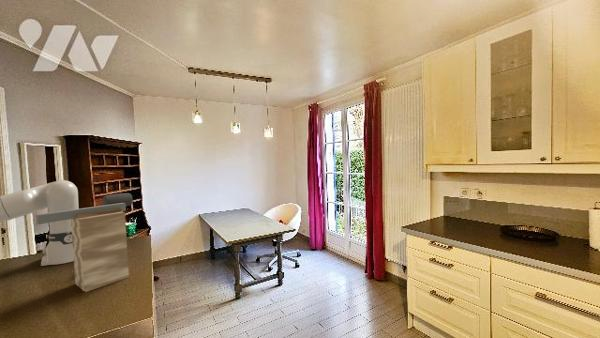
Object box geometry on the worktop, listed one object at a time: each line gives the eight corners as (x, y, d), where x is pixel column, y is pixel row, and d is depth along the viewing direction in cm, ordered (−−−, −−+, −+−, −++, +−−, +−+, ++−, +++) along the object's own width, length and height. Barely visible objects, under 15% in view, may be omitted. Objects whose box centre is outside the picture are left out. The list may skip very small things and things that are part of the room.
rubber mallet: (109, 253, 136) (105, 195, 135) (104, 251, 141) (101, 195, 140) (136, 246, 146) (132, 192, 145) (131, 244, 151) (127, 192, 150)
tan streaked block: (75, 283, 101) (70, 213, 101) (117, 270, 113) (113, 207, 112) (85, 292, 94) (79, 216, 93) (129, 277, 105) (124, 209, 105)
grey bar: (36, 223, 90) (35, 214, 90) (123, 210, 111) (122, 202, 111) (38, 224, 88) (37, 215, 88) (125, 210, 109) (125, 203, 109)
